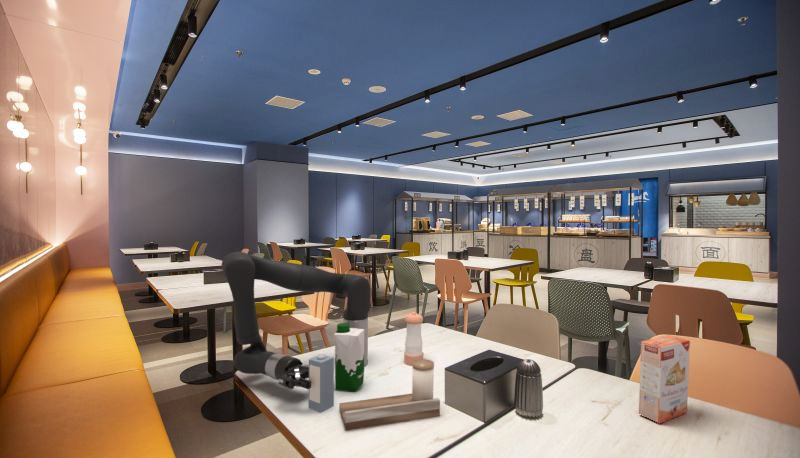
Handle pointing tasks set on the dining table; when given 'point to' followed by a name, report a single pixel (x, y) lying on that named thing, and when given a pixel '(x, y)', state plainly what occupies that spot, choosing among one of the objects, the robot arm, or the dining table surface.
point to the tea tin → (321, 382)
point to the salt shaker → (413, 338)
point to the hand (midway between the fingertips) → (321, 380)
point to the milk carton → (349, 358)
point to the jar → (422, 380)
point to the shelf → (386, 411)
